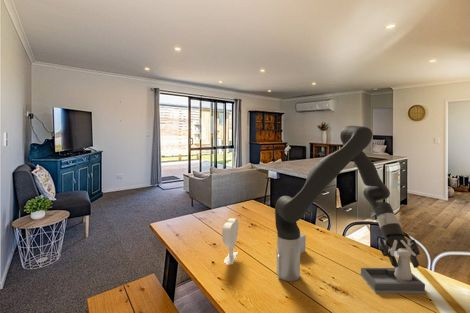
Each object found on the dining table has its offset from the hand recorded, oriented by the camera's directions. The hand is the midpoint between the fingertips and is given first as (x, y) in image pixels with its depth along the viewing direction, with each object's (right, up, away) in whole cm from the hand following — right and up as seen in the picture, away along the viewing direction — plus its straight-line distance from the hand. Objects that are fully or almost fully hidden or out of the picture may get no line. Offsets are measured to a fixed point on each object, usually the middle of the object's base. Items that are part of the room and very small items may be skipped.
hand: (406, 267), depth 94 cm
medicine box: (-34, -6, +29) cm, 45 cm away
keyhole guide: (-4, -8, +2) cm, 9 cm away
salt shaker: (0, -7, +2) cm, 7 cm away
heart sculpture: (-68, -7, +25) cm, 72 cm away
